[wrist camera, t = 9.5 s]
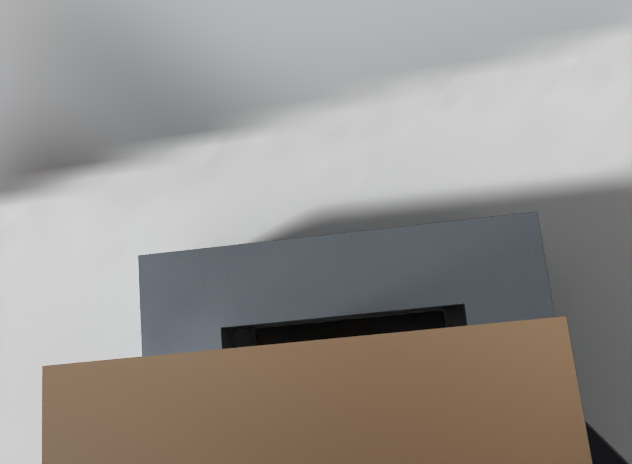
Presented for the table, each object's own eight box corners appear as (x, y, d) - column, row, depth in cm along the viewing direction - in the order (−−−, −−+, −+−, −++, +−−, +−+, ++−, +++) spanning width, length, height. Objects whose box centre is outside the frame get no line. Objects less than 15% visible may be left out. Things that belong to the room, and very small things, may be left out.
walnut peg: (440, 485, 16) (687, 997, 3) (297, 496, 16) (40, 1002, 4) (421, 339, 17) (565, 315, 4) (286, 352, 17) (42, 364, 5)
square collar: (553, 585, 15) (613, 671, 12) (209, 605, 16) (155, 693, 12) (499, 239, 17) (537, 211, 13) (190, 272, 18) (138, 255, 14)
